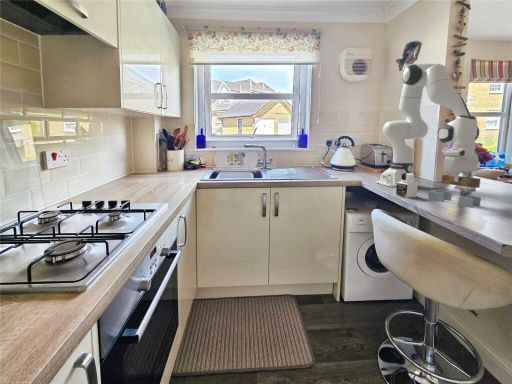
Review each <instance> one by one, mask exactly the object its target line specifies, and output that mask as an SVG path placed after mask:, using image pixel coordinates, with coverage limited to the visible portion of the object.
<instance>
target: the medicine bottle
mask: <svg viewBox="0 0 512 384" xmlns="http://www.w3.org/2000/svg"><path fill="white" fill-rule="evenodd" d="M401 181H402V182H397V187H396V189H395V190H396V191H395V196H398V197H400V198H401V197H402V198H405V199H410V198H416V197H417V196H418V184H419V183H418V182H415V174H414V173H413V172H412V173H403V174H402V175H401Z"/></svg>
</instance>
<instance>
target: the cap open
mask: <svg viewBox="0 0 512 384" xmlns="http://www.w3.org/2000/svg"><path fill="white" fill-rule="evenodd" d="M481 201H482V197H481V196H476V195H469V194H466V195H465V196H462V195H459V196H458V203H457V204H458V206H462V207H465V208H474V207H481Z"/></svg>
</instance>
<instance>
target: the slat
mask: <svg viewBox="0 0 512 384" xmlns="http://www.w3.org/2000/svg"><path fill="white" fill-rule="evenodd" d="M459 178H460V181H459V182H455V181H454V175H453V174H442V175H441V184H445V185H453V186H459V187H465V188H473V189H479V188H480V186H481V178H480V177H479V178H478V177H468V176H467V177H462V175H459Z"/></svg>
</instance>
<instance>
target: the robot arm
mask: <svg viewBox="0 0 512 384" xmlns="http://www.w3.org/2000/svg"><path fill="white" fill-rule="evenodd" d="M401 77H402V78H401V79H402V82H403V86H402V89H401V93H400V99H399V105H398V110H399V112H400V113H401V114H403V115H404V116H405V117H406V120H391V121H387V122H386V123H384V124H383V126H382V134H383V136H384V137H385V138H386V139H387V140H388V141H389V143H390V144H391V148H392V162H388V166H389V167H388V169H386V170H384V171H383V172H382V173H381V174H380V176H379V177H380V178H379V180H376V181H375V183H376V184H378V183H379V184H378V185H382V186H387V187H391V188H392V187H393V188H395V187H396V188H397V182H402V181H401V175H402V174H403V173H412V174H413V168H414V162H413V160H414V149H413V148H412V147H411V146H410V145H407V143H406V140H418V139H422V138H425V137H426V136H427V134H428V132H429V127H428V123H426V122H425V120H424V119H423V118H422V116H421V103H422V98H423V91H424V88H425V89H426V93H427V97H428V98H429V100H430V101H431V102H432V103H434V104H436V105H438V106H442V107H445V108H447V109H449V110H451V111H452V112H453V114H454V117H455V119H454V120H452V121H449V122H447V123H443V124H442V125H441V126H440V127H439V128H438V131H437V138H438V140H439V141H440V142H441V143H443V144H452V146H451V147H450V148H449V149H447V150H445V151H444V156H445V157H444V160H443V161H444V162H443V170H444V173H448V174H449V173H450V174H451V173H452V175H454V181H455V182H459V181H460V178H459V176H460V173H461V176H462V177H468V175H469V172H473V171H474V172H476V171H478V168H479V156H478V153H477V152H476V140H477V139H478V138H479V136H480V128H479V125H478V119H477V117H476V116H474V115H471V112H470V111H469V109H468V107H467V104H466V102H465V100H464V98H463V97H462V95H460V94H459V93H458V92H457V91H456V89H455V87H454V85H453V83H452V80H451V77H450V75H449V72H448V71H447V67H446V66H445V65H444V64H440V63H418V64H416V63H414V64H409V65H407V66H405V68H404V70H403V71H402V76H401Z"/></svg>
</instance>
